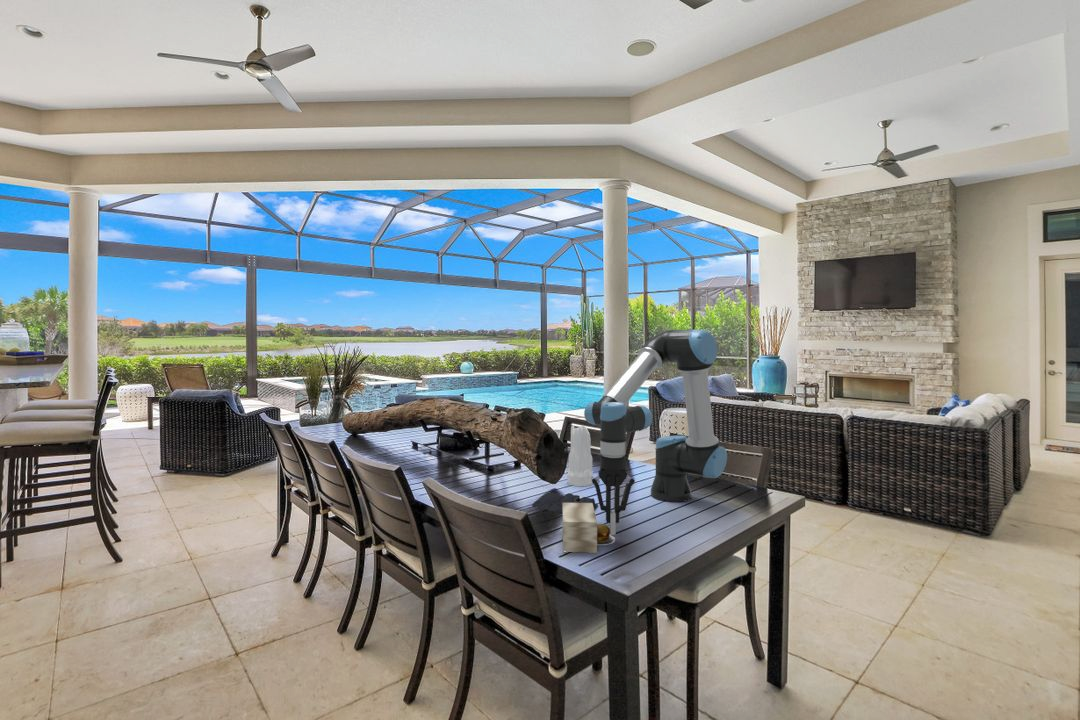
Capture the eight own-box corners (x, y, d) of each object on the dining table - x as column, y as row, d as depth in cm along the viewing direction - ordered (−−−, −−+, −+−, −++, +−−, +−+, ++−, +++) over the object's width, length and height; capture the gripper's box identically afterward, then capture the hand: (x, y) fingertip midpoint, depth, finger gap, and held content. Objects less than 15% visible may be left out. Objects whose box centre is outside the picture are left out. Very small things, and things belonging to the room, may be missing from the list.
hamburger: (577, 535, 157) (577, 517, 157) (615, 534, 159) (615, 516, 158) (584, 551, 146) (584, 532, 145) (625, 549, 147) (625, 531, 146)
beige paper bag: (592, 530, 160) (592, 502, 160) (597, 552, 143) (597, 522, 143) (562, 530, 160) (562, 502, 160) (563, 552, 143) (563, 521, 143)
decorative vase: (568, 478, 220) (568, 421, 219) (593, 479, 218) (593, 422, 217) (566, 486, 209) (566, 425, 208) (592, 487, 207) (592, 426, 206)
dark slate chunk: (552, 497, 196) (552, 485, 196) (602, 508, 183) (602, 495, 183) (528, 507, 183) (528, 494, 183) (580, 520, 170) (580, 506, 170)
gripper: (632, 452, 154) (632, 528, 155) (590, 452, 154) (589, 528, 155) (637, 457, 146) (636, 538, 147) (591, 457, 147) (591, 537, 148)
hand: (612, 533), depth 151 cm, fingers closed
